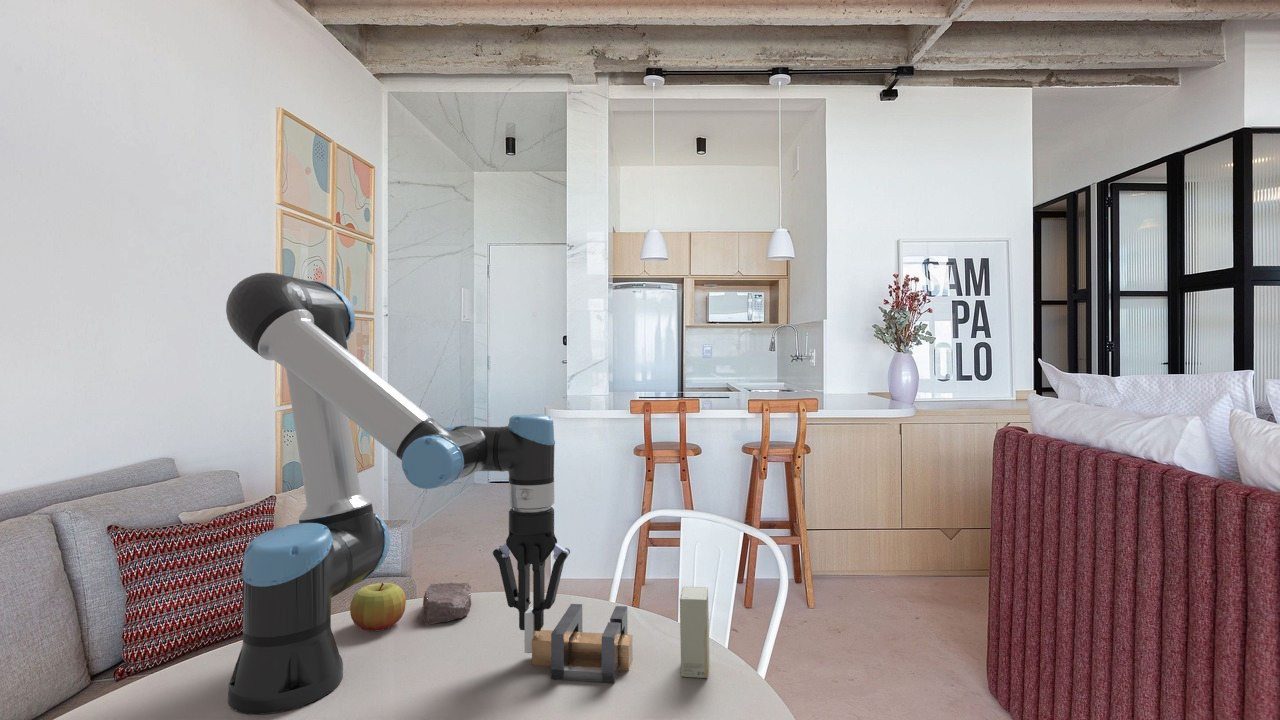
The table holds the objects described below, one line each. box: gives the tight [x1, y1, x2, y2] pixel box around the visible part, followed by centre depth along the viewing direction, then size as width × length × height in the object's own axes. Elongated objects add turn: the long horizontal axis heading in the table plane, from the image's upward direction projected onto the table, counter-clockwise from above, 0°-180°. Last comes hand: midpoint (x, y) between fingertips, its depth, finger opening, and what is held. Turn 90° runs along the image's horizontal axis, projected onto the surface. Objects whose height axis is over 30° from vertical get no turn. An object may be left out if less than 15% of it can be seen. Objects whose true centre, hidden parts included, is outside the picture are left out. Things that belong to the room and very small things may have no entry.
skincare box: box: [679, 586, 711, 679], centre depth 99 cm, size 6×4×12 cm
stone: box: [422, 582, 472, 625], centre depth 123 cm, size 12×9×5 cm
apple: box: [349, 582, 407, 632], centre depth 116 cm, size 10×10×8 cm
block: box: [531, 629, 633, 672], centre depth 102 cm, size 16×4×4 cm, turn 82°
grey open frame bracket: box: [550, 603, 628, 684], centre depth 101 cm, size 10×12×7 cm
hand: (531, 649), depth 103 cm, fingers closed
